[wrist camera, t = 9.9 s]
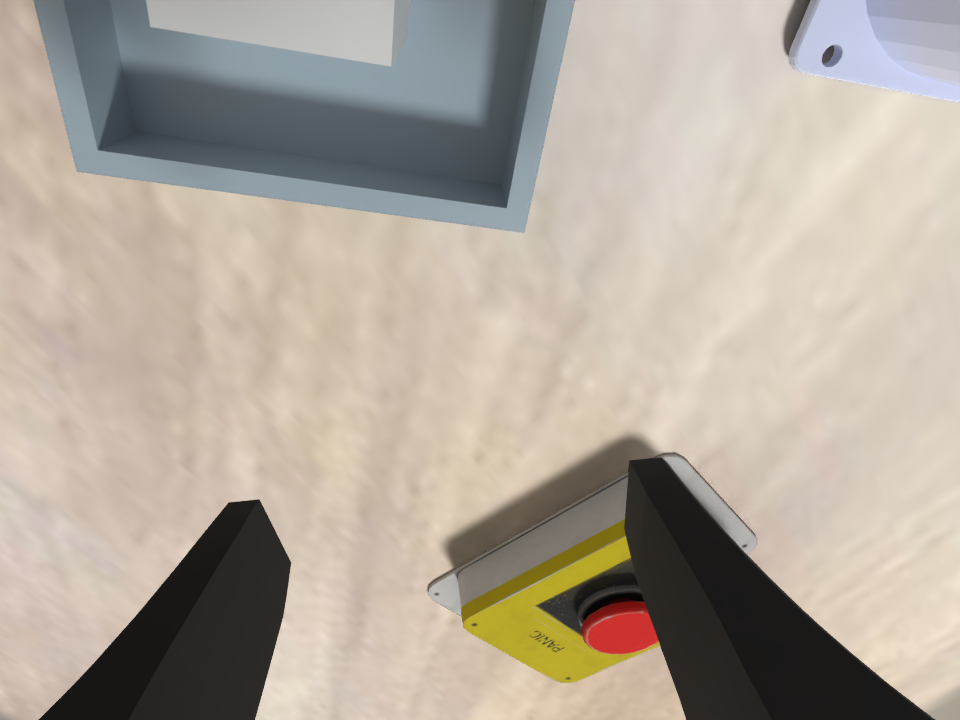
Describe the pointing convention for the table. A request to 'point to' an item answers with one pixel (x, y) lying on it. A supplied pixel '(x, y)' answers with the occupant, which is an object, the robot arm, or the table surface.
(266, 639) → the robot arm
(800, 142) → the table surface
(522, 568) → the emergency button
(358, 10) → the block
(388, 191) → the parts tray
